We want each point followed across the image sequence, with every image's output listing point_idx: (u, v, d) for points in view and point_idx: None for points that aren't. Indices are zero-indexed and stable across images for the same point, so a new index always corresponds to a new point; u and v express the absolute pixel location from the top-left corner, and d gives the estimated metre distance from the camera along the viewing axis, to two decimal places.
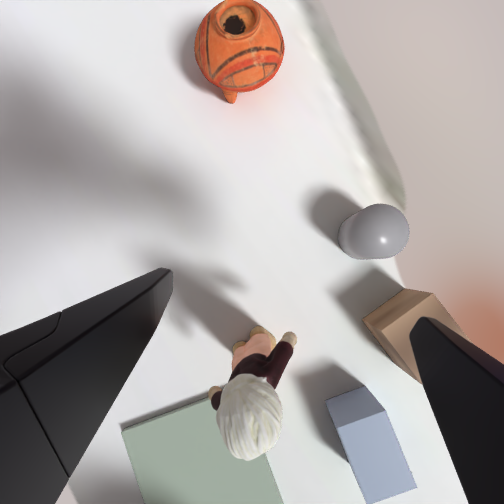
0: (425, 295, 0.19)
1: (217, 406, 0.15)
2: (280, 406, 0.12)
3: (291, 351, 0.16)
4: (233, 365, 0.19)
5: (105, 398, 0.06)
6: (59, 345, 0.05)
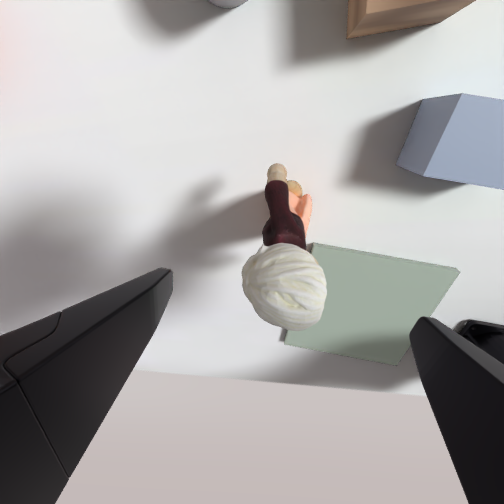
0: None
1: None
2: (297, 252, 0.09)
3: (280, 185, 0.11)
4: None
5: (105, 398, 0.06)
6: (59, 345, 0.05)
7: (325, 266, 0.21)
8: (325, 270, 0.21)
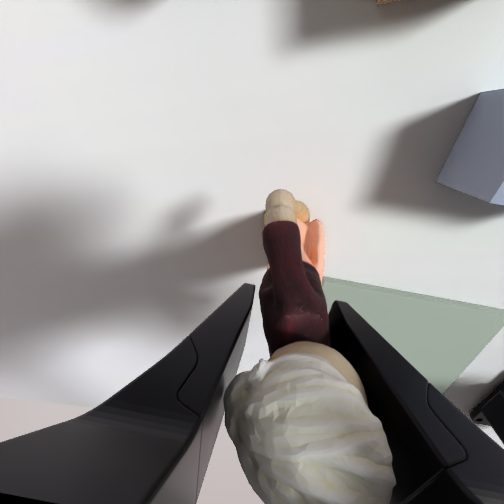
0: None
1: None
2: (332, 393, 0.04)
3: (287, 229, 0.07)
4: None
5: (219, 421, 0.06)
6: (212, 375, 0.05)
7: None
8: None
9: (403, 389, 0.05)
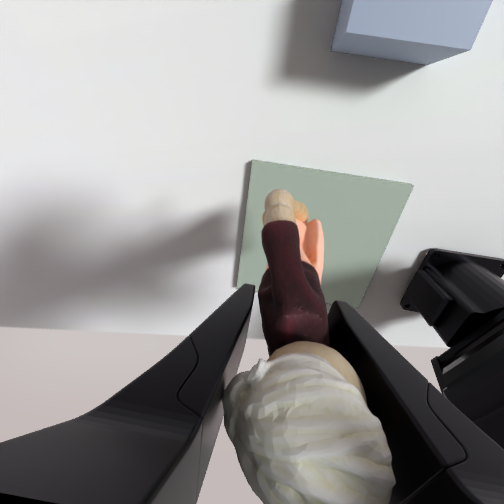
0: None
1: None
2: (332, 393, 0.04)
3: (286, 229, 0.07)
4: None
5: (219, 421, 0.06)
6: (213, 375, 0.05)
7: (268, 186, 0.19)
8: (268, 192, 0.19)
9: (403, 389, 0.05)
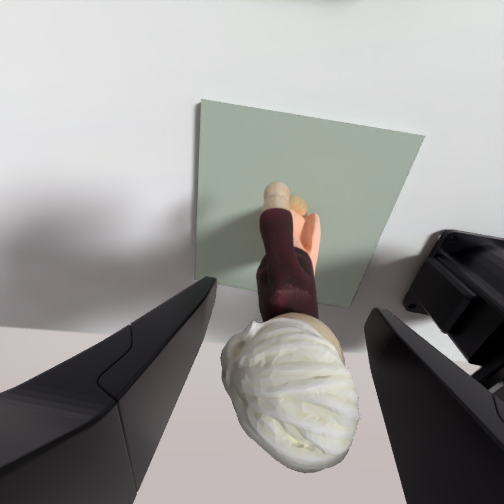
0: None
1: None
2: (310, 345, 0.05)
3: (281, 216, 0.08)
4: None
5: (166, 411, 0.06)
6: (142, 361, 0.05)
7: (224, 137, 0.14)
8: (225, 146, 0.14)
9: (471, 402, 0.05)
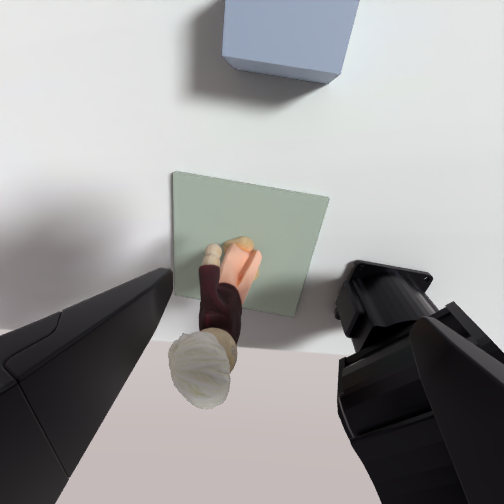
0: None
1: None
2: (206, 346, 0.11)
3: (209, 270, 0.13)
4: None
5: (105, 398, 0.06)
6: (59, 345, 0.05)
7: (191, 197, 0.19)
8: (192, 202, 0.20)
9: None
